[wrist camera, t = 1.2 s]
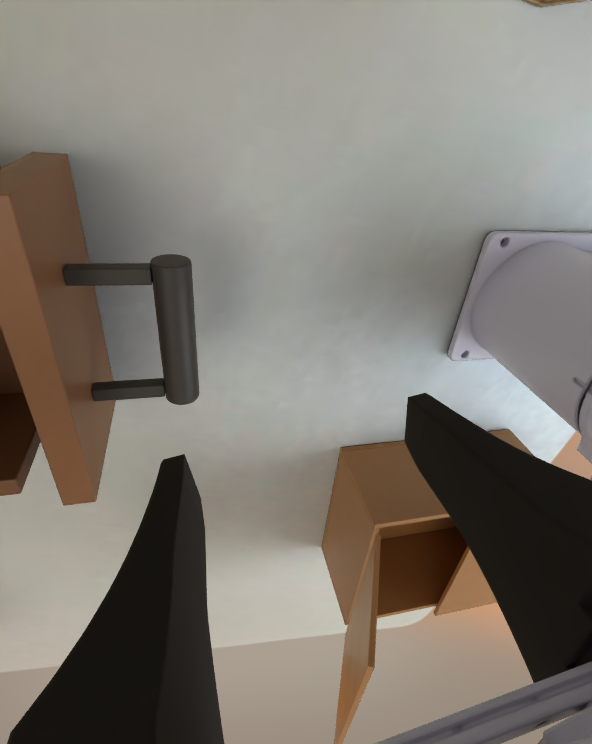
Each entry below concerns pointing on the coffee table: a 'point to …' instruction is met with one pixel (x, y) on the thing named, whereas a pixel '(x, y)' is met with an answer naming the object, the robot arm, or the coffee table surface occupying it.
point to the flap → (359, 645)
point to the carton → (399, 535)
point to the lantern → (550, 2)
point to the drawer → (71, 332)
